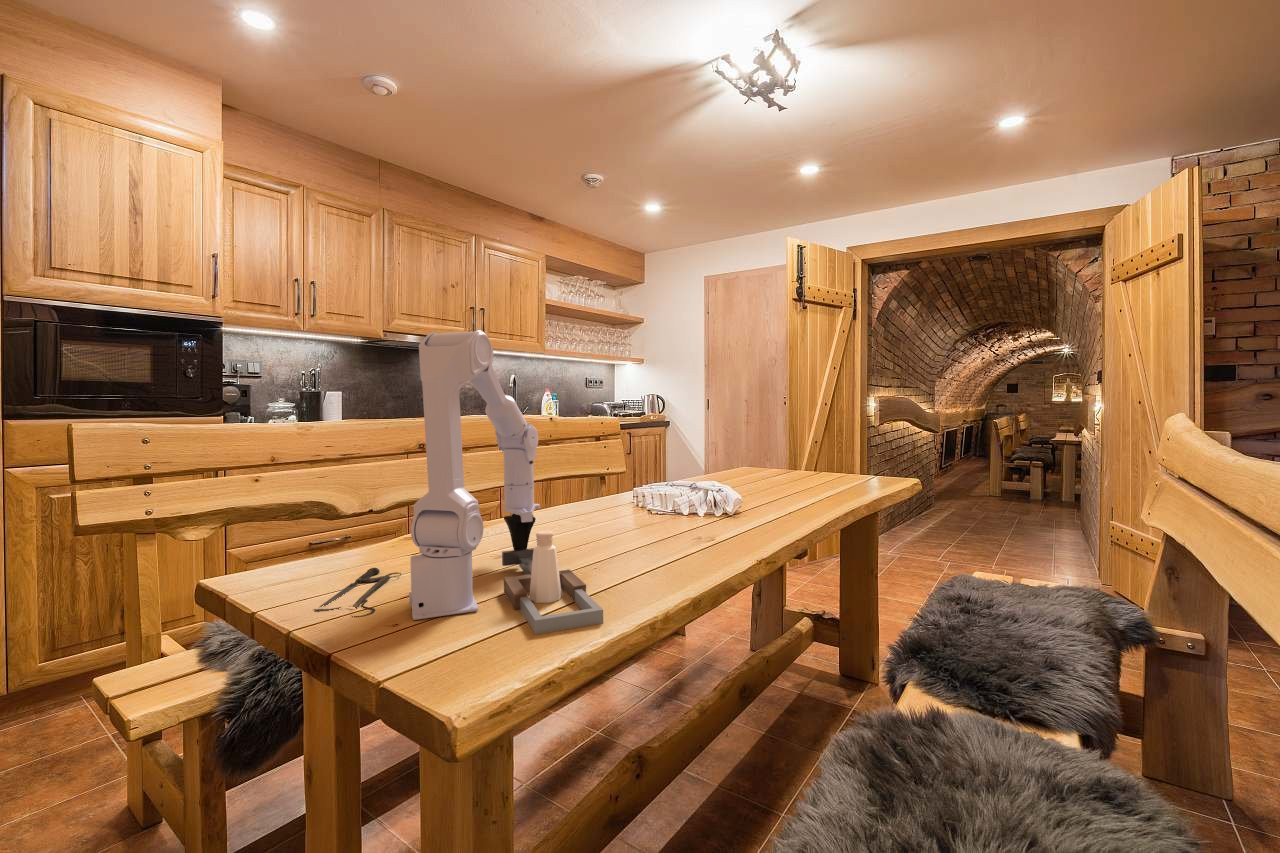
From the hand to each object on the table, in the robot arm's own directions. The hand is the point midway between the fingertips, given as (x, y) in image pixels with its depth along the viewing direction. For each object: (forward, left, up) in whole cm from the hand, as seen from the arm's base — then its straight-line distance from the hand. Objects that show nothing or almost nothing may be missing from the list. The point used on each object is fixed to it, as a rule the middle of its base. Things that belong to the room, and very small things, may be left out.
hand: (520, 552), depth 113 cm
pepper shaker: (0, -20, -3) cm, 21 cm away
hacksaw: (-27, -4, -3) cm, 27 cm away
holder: (0, -20, -3) cm, 21 cm away
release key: (0, -9, -2) cm, 10 cm away
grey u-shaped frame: (0, -29, -3) cm, 30 cm away
